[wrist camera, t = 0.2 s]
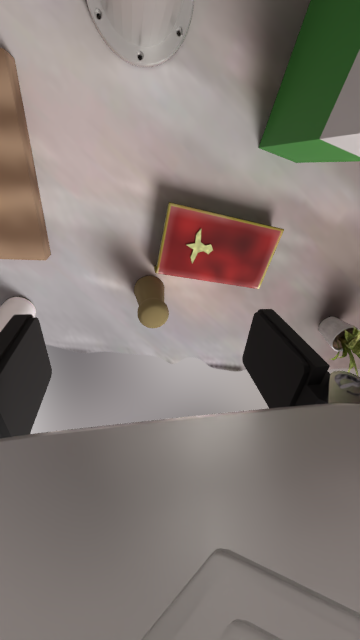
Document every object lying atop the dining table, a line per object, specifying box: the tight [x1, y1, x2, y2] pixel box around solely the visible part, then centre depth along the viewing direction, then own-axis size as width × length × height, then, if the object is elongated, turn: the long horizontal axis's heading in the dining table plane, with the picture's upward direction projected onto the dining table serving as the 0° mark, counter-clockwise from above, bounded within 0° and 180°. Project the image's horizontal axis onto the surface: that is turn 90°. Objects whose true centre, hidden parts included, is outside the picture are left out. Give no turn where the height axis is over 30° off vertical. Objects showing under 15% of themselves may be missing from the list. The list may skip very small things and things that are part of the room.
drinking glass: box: [0, 297, 36, 332], centre depth 40 cm, size 7×7×15 cm
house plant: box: [318, 317, 360, 376], centre depth 56 cm, size 14×14×16 cm
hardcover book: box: [154, 202, 284, 289], centre depth 45 cm, size 12×21×4 cm, turn 76°
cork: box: [134, 276, 169, 328], centre depth 44 cm, size 6×6×11 cm
